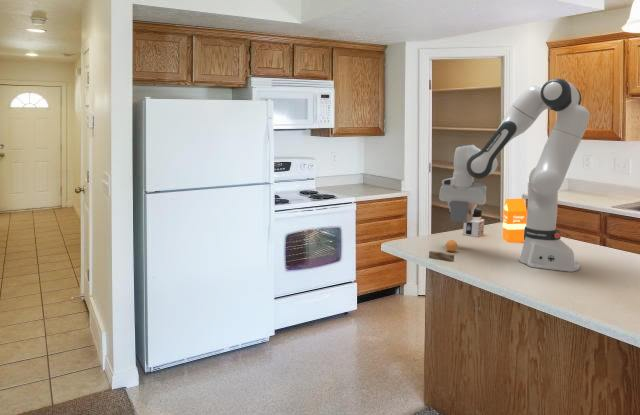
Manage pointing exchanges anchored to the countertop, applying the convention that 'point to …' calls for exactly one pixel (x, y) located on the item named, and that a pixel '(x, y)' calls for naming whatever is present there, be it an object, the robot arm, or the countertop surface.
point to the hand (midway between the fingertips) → (461, 212)
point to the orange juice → (514, 220)
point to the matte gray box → (460, 212)
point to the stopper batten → (441, 255)
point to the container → (474, 225)
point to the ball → (451, 246)
